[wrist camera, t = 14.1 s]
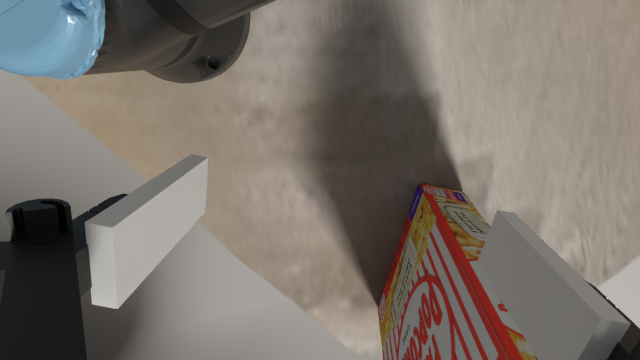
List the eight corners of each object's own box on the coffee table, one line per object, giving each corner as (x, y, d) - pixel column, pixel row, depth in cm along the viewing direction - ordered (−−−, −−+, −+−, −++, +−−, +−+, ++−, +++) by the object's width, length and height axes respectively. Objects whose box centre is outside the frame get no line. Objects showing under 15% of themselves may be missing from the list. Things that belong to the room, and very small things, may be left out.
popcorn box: (416, 181, 43) (517, 365, 17) (465, 191, 43) (637, 391, 17) (375, 308, 50) (404, 570, 25) (417, 317, 50) (489, 588, 25)
